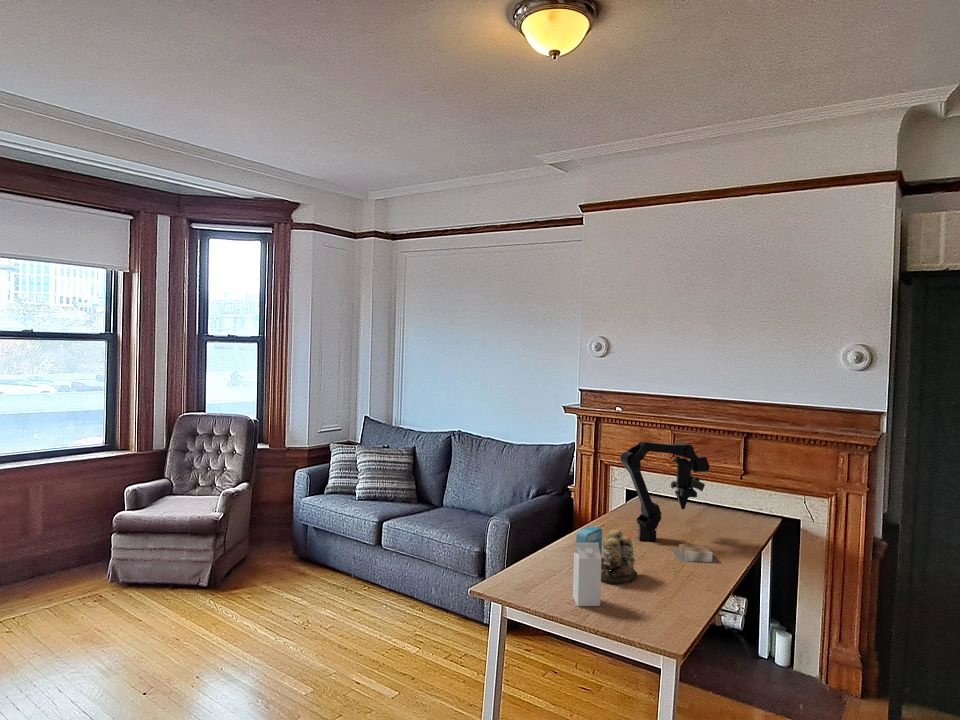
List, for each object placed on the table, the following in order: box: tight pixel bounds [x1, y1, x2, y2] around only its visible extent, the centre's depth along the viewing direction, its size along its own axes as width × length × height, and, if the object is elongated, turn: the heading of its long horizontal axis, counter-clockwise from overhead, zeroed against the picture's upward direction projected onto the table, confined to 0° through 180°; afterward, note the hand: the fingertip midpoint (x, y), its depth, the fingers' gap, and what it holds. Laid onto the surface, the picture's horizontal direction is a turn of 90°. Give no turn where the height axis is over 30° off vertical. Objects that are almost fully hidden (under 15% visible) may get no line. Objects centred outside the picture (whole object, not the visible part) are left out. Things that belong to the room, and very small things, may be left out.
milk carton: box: [572, 543, 602, 607], centre depth 204 cm, size 7×7×19 cm
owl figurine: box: [601, 529, 638, 586], centre depth 227 cm, size 18×12×17 cm, turn 140°
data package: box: [575, 525, 603, 556], centre depth 244 cm, size 12×4×12 cm, turn 140°
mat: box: [670, 548, 719, 564], centre depth 251 cm, size 14×15×1 cm
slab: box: [678, 543, 713, 563], centre depth 249 cm, size 10×4×9 cm
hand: (682, 509), depth 274 cm, fingers closed
